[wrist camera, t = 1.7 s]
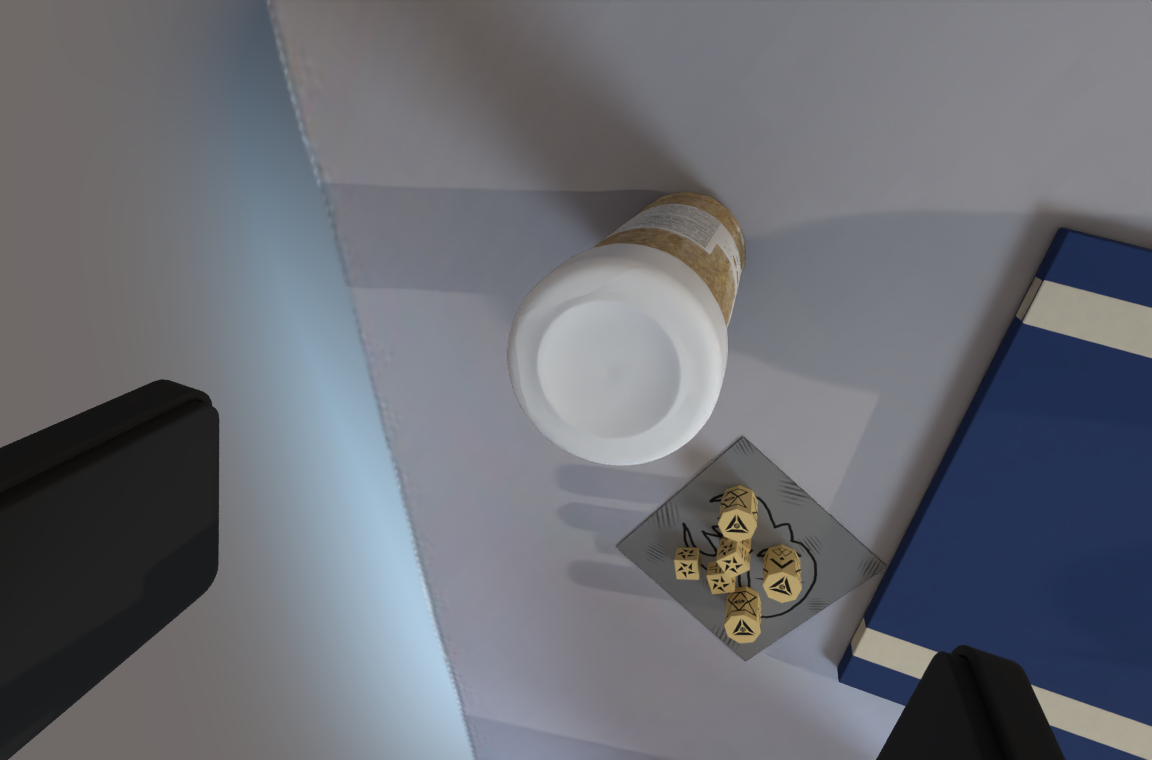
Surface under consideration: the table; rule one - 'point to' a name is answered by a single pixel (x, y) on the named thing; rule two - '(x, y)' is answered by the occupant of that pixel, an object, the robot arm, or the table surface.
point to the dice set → (748, 551)
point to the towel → (1042, 514)
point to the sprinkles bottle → (632, 334)
